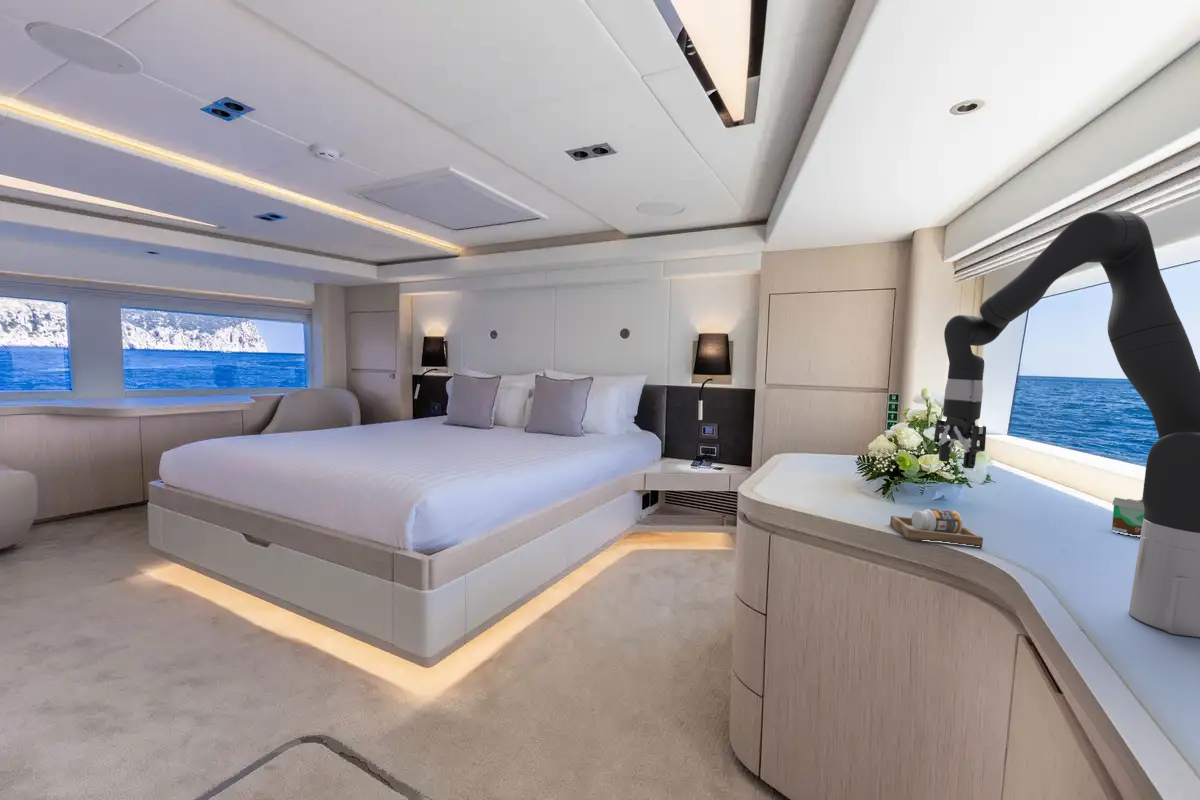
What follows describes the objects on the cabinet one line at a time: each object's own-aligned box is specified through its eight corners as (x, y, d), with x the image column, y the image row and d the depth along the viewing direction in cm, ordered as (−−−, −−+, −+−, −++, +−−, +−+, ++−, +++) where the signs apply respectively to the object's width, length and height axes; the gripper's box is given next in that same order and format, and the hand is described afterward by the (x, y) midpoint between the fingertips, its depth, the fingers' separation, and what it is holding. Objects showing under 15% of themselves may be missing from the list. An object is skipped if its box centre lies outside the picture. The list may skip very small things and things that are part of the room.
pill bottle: (965, 514, 129) (925, 512, 128) (962, 537, 129) (922, 535, 129) (949, 508, 134) (911, 505, 134) (946, 529, 135) (908, 527, 135)
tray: (981, 548, 124) (983, 537, 124) (909, 540, 127) (910, 529, 126) (955, 532, 136) (957, 522, 136) (890, 524, 138) (891, 515, 138)
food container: (1135, 540, 140) (1141, 503, 139) (1108, 532, 146) (1113, 497, 145) (1166, 538, 143) (1172, 503, 143) (1138, 531, 149) (1143, 497, 148)
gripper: (928, 395, 134) (922, 458, 135) (969, 399, 120) (961, 469, 121) (957, 397, 134) (950, 460, 135) (1001, 401, 120) (993, 471, 121)
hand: (955, 464), depth 128 cm, fingers open, 8 cm apart
